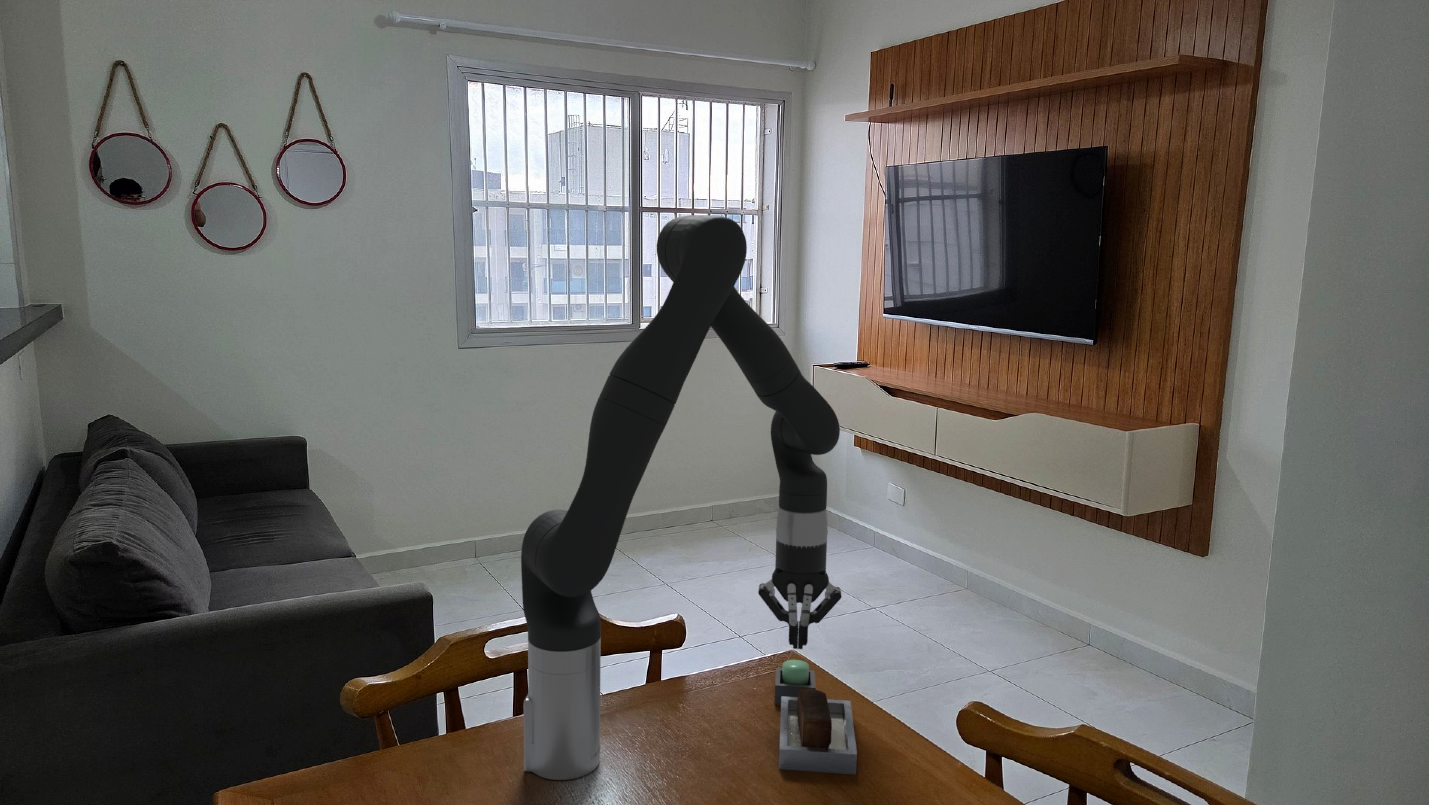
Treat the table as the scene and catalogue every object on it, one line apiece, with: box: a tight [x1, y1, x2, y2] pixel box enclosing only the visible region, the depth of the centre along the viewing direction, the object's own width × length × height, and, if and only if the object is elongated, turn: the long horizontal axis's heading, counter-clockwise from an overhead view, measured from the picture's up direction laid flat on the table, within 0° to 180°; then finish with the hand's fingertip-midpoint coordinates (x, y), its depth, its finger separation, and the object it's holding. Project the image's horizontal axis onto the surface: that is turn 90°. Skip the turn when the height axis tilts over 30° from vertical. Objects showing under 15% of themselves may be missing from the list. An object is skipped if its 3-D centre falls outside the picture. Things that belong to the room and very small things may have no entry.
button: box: [782, 659, 810, 685], centre depth 143 cm, size 4×4×2 cm
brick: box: [797, 689, 832, 749], centre depth 130 cm, size 11×4×5 cm, turn 179°
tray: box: [778, 696, 858, 776], centre depth 130 cm, size 10×15×3 cm, turn 175°
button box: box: [774, 667, 817, 706], centre depth 144 cm, size 6×6×3 cm
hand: (798, 646), depth 143 cm, fingers closed
